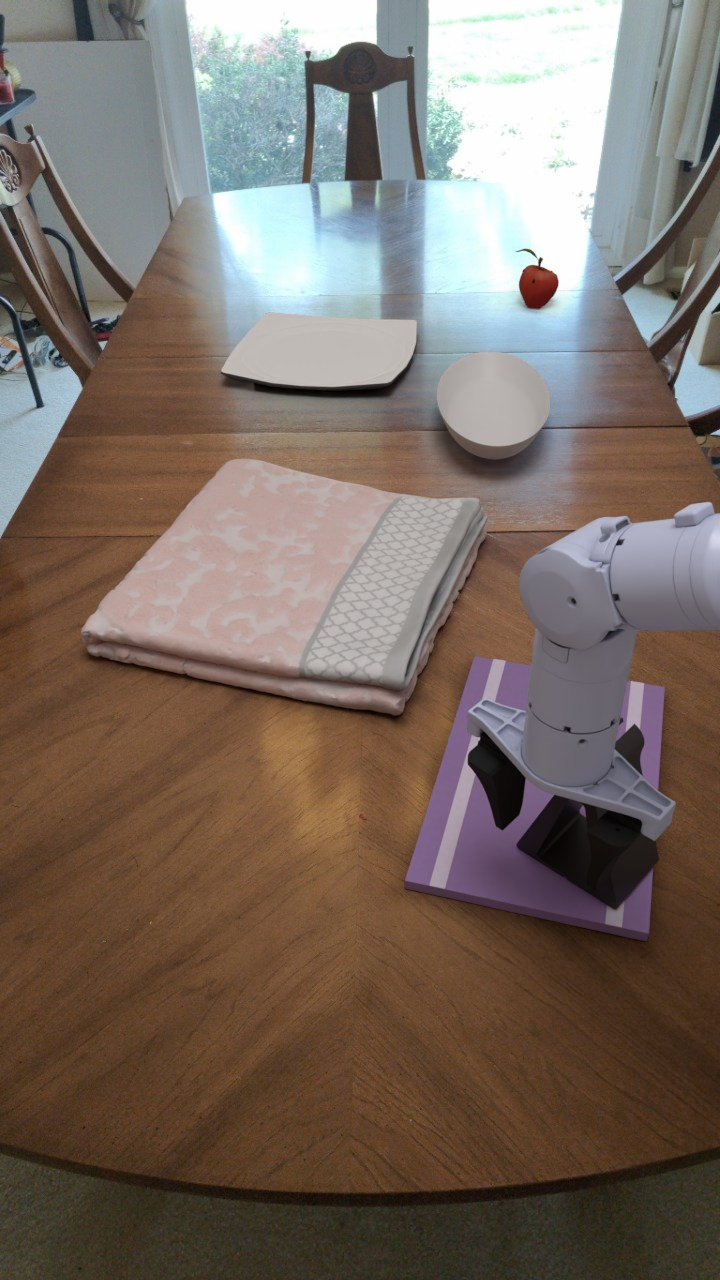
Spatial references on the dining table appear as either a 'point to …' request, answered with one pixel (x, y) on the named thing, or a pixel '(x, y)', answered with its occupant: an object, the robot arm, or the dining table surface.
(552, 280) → the apple
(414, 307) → the dining table surface
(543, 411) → the bowl
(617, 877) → the phone stand
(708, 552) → the robot arm
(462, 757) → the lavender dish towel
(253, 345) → the plate
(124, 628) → the towel
